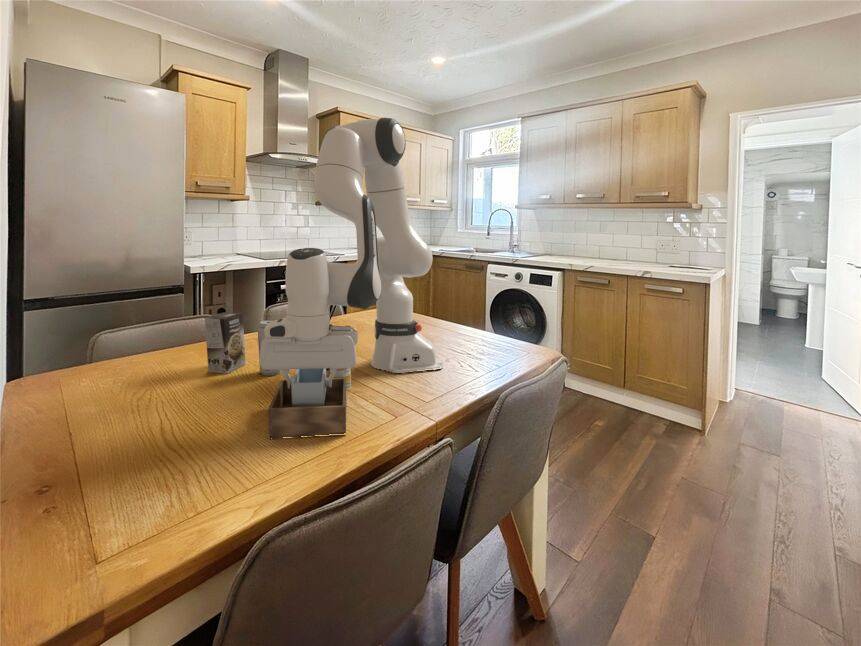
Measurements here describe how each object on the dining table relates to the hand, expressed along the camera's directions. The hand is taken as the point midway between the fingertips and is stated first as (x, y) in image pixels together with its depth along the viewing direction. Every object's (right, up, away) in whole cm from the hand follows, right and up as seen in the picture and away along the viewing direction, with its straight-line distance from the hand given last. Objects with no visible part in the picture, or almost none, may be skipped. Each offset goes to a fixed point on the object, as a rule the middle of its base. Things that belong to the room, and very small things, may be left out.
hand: (310, 387), depth 99 cm
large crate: (0, -8, +2) cm, 8 cm away
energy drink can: (-20, -1, +31) cm, 37 cm away
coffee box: (-33, 0, +34) cm, 47 cm away
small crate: (0, -2, 0) cm, 2 cm away
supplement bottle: (+3, -4, +21) cm, 21 cm away
